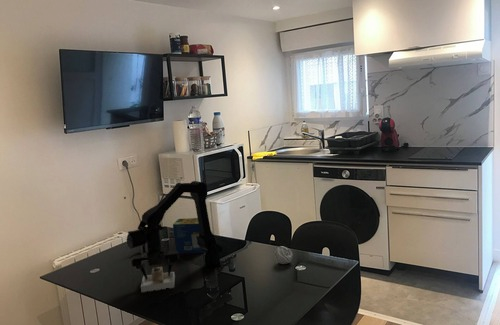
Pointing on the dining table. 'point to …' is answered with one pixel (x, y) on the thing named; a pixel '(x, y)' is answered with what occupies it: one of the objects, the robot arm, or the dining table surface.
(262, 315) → the dining table surface
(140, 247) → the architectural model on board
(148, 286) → the housing tray
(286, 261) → the grey streaked ball
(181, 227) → the protein box
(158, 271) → the brown block
